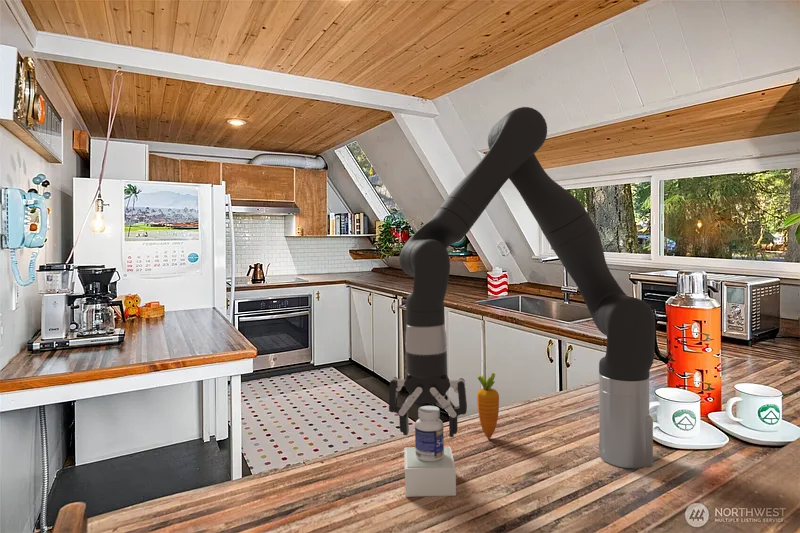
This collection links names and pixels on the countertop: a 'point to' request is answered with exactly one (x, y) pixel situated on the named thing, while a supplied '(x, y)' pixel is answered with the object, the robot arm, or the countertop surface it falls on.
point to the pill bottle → (429, 434)
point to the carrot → (488, 405)
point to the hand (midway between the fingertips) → (428, 434)
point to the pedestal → (429, 475)
